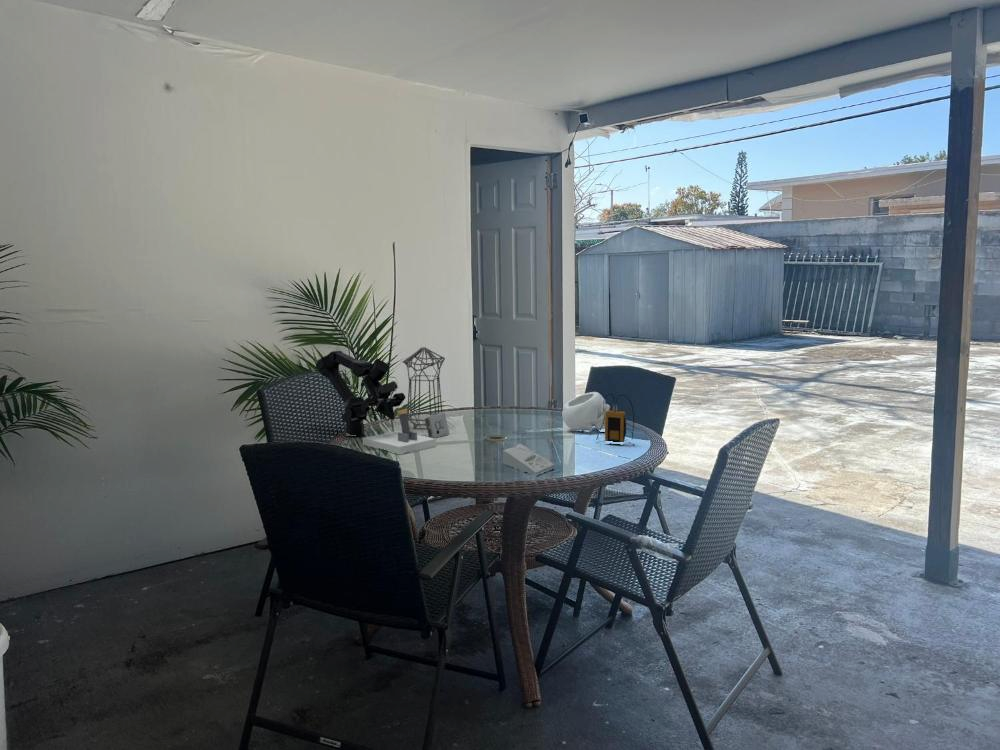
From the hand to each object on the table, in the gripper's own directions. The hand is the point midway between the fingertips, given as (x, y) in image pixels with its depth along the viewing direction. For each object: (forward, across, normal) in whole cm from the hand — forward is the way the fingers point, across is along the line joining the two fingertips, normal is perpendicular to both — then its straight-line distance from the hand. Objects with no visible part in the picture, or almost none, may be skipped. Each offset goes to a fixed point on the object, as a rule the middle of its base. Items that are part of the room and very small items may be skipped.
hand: (393, 419), depth 292 cm
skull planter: (+37, +71, -22) cm, 83 cm away
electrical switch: (+8, +22, +7) cm, 24 cm away
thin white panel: (+9, 0, +5) cm, 11 cm away
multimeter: (+52, +61, -36) cm, 88 cm away
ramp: (+50, +11, -34) cm, 61 cm away
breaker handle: (+10, 0, -1) cm, 11 cm away
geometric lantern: (-3, +29, +18) cm, 35 cm away
